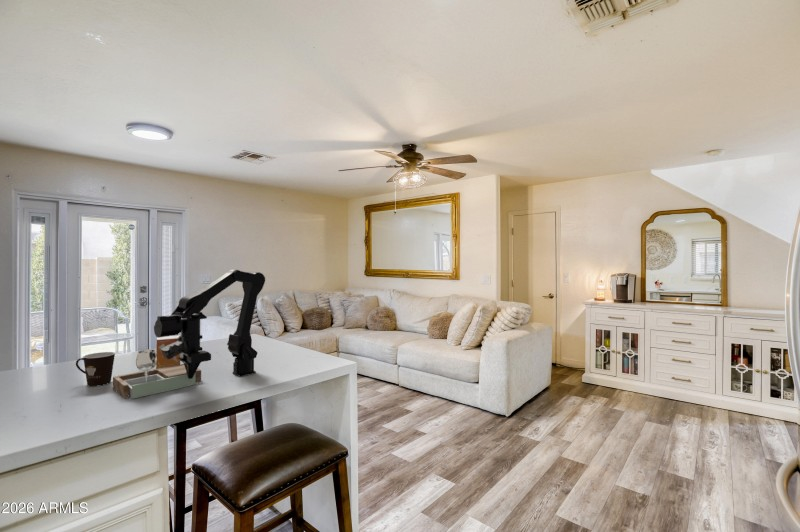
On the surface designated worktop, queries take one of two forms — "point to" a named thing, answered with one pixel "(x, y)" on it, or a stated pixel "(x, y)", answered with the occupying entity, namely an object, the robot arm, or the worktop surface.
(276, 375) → the worktop surface
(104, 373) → the coffee mug
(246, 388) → the worktop surface
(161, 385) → the tray
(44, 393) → the worktop surface
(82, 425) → the worktop surface
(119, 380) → the divided wooden organizer
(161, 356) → the small box
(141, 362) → the wineglass
